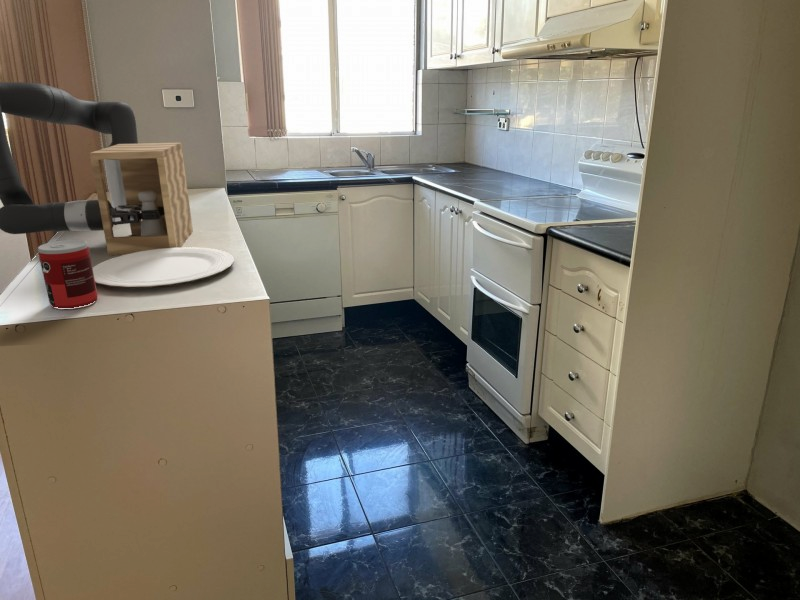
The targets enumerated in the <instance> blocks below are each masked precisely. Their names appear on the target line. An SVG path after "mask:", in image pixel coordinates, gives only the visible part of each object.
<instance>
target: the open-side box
mask: <svg viewBox="0 0 800 600" xmlns="http://www.w3.org/2000/svg"><path fill="white" fill-rule="evenodd" d="M182 145H183V144H182V142H150V143H147V142H146V143H138V144H117V145H114V146H111V147H108V146H106V147H107V148H106V147H104V148H100V149H99V150H98V149H97V150H95V151H92V152H89V157H90V162H91V168H92V173H93V179H94V184H95V189H96V195H97V200H98V201H99V207H100V212H101V218H102V223H103V229H104V230H103V233H104V239H105V244H106V250H107V255H108V256H122V255H126V254H131V253H136V252H141V251H147V250H155V249H164V248H178V247H182V246H183V245H184V243H186V241H187V240H188V239H189V237H190V236H191V235H192V233H193V232H194V230H193V228H194V227H193V221H192V214H191V205H190V197H189V192H188V183H187V176H186V175H187V174H186V169H185V161H184V154H183V146H182ZM104 159H119V162H120V168H121V174H122V180H123V186H124V192H125V198H126V204H129V205H142V201H140V200H139V197H138V194H139V193H140V192H142V191H147V190H151V191H155V192H156V193H157V200H155V201H156V204H157V207H161V206H162V207H164V212H165V214H164V215H163V216H161V219H162V222H163V225H164V228H165V231H166V234H165V235H147V236H141V223H142V221H140V222H138V223H129V226H130V232H131V233H130V234H131V235H128V236H126V235H125V236H115V234H114V230H113V228H114V227H113V228H112V223H111V217H110V211H109V206H108V201H109V200H108V196H107V191H106V184H105V178H104V173H103V168H102V161H101V160H104ZM140 210H142V209H140Z"/></svg>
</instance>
